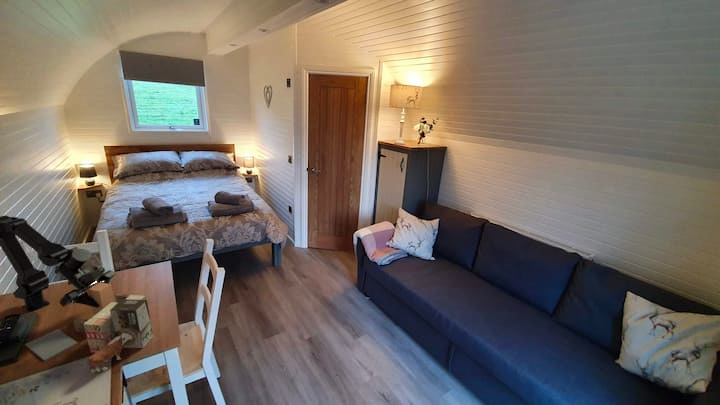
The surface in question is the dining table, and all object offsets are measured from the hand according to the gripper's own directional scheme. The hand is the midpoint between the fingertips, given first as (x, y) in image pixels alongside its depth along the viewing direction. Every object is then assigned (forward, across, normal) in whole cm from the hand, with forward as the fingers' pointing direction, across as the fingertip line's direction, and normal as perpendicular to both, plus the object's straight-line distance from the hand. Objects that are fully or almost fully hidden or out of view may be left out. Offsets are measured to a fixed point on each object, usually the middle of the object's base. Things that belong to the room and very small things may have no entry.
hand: (105, 302), depth 122 cm
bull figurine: (+20, -19, -10) cm, 29 cm away
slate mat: (+1, -16, +9) cm, 19 cm away
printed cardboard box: (+14, -6, -3) cm, 15 cm away
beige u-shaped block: (+5, 0, +5) cm, 7 cm away
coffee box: (+20, -9, -10) cm, 24 cm away
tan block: (+4, 0, +6) cm, 7 cm away
